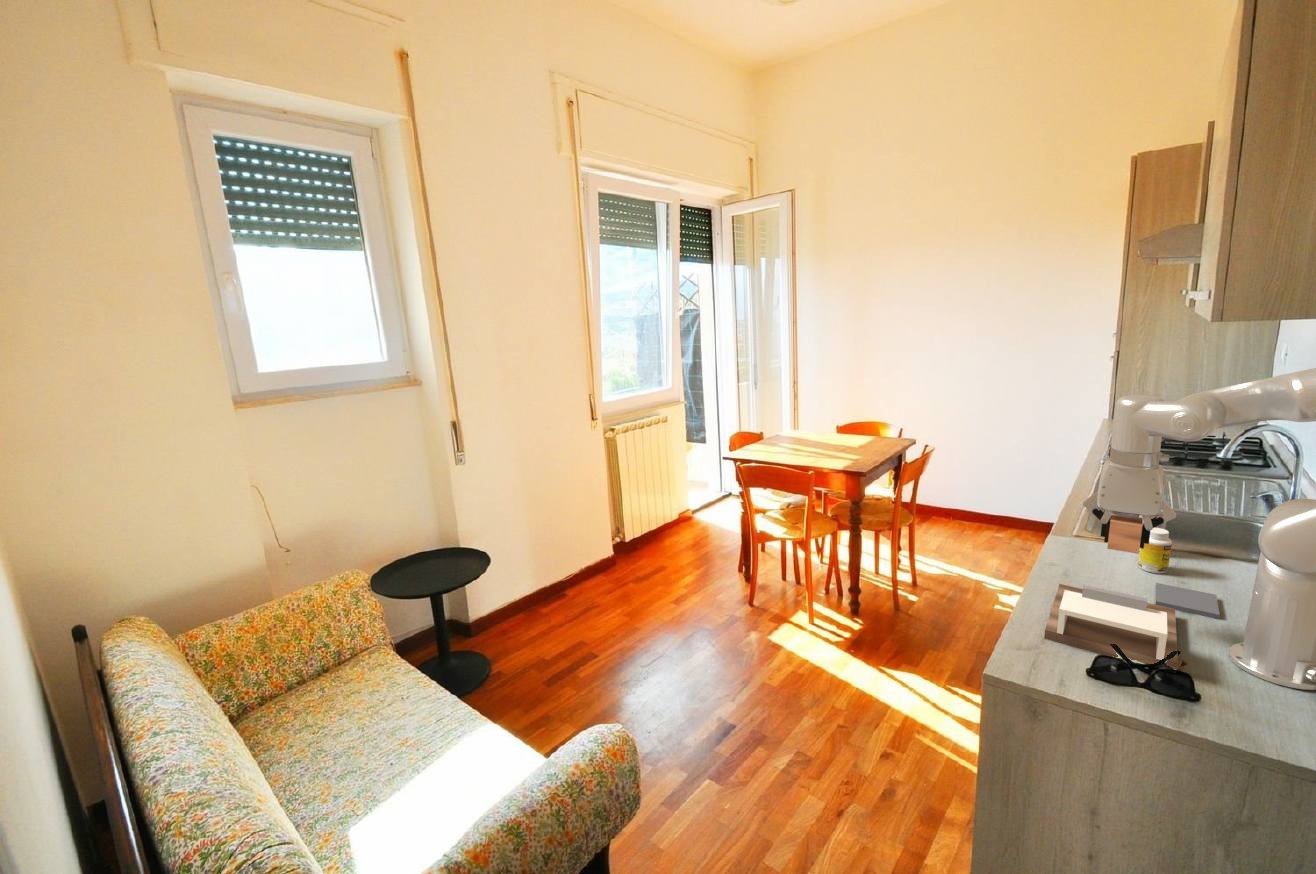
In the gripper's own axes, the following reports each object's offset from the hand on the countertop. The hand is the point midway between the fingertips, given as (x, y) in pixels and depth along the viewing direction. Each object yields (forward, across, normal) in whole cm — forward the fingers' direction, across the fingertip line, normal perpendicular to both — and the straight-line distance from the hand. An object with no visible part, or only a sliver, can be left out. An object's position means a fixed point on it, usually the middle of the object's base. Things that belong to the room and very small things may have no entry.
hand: (1123, 542), depth 118 cm
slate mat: (+17, -12, -16) cm, 26 cm away
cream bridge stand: (+15, +1, +12) cm, 19 cm away
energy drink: (+18, -5, -42) cm, 46 cm away
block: (+1, 0, 0) cm, 1 cm away
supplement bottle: (+18, -6, -31) cm, 36 cm away
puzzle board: (+17, +1, +5) cm, 18 cm away
